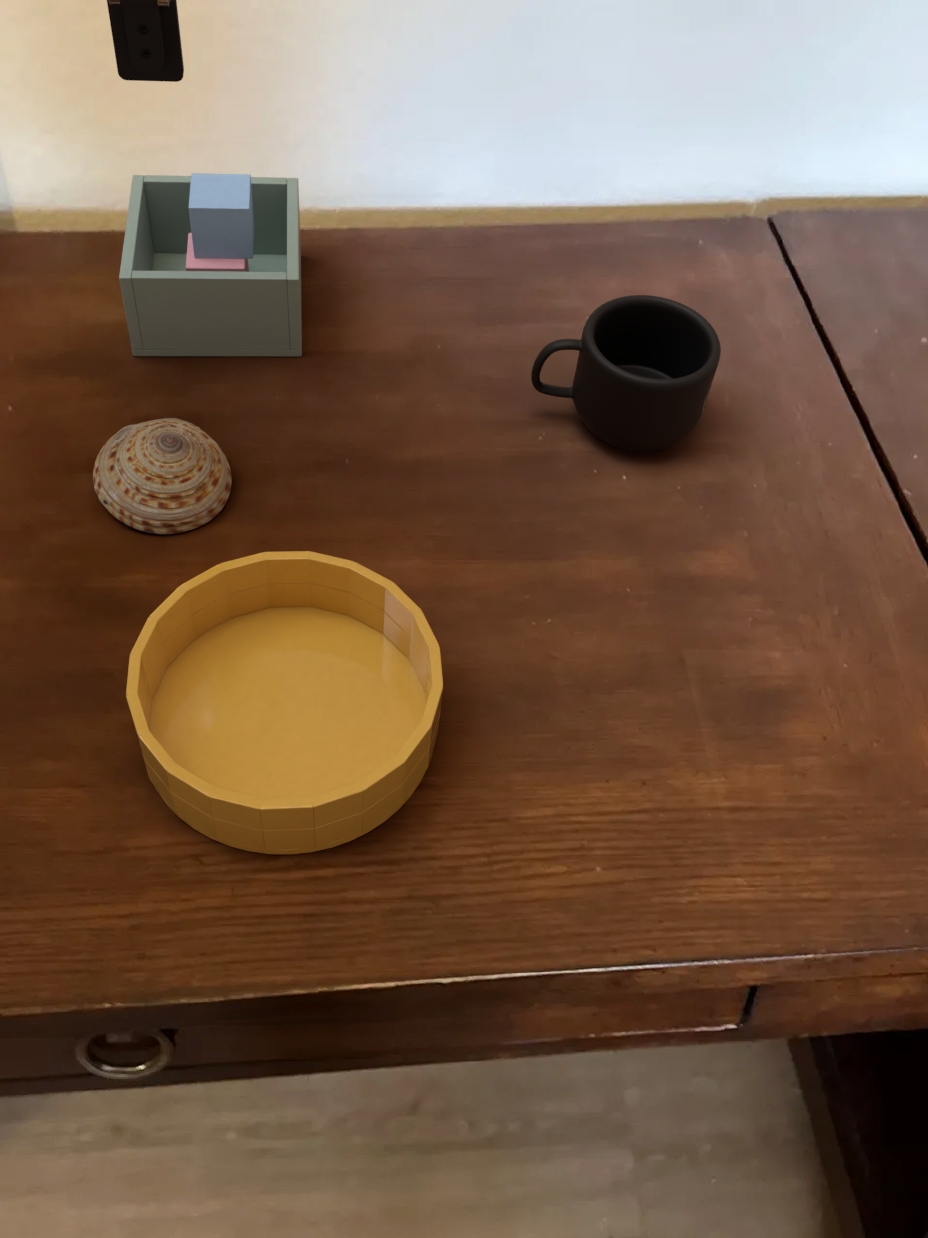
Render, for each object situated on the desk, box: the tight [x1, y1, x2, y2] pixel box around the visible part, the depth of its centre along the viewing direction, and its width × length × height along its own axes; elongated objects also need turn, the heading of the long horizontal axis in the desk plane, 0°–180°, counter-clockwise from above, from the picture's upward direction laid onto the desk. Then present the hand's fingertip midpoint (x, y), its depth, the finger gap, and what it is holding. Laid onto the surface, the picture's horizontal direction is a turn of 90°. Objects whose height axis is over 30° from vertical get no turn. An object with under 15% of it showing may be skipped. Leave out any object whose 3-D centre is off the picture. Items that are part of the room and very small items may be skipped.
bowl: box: [125, 550, 444, 855], centre depth 65 cm, size 16×16×5 cm
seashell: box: [92, 417, 233, 535], centre depth 76 cm, size 8×6×8 cm
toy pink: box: [186, 233, 249, 272], centre depth 86 cm, size 4×4×4 cm
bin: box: [118, 174, 303, 357], centre depth 85 cm, size 12×12×7 cm
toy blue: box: [189, 172, 254, 259], centre depth 83 cm, size 4×4×4 cm
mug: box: [530, 294, 722, 452], centre depth 81 cm, size 12×9×7 cm
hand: (158, 28), depth 64 cm, fingers open, 9 cm apart
